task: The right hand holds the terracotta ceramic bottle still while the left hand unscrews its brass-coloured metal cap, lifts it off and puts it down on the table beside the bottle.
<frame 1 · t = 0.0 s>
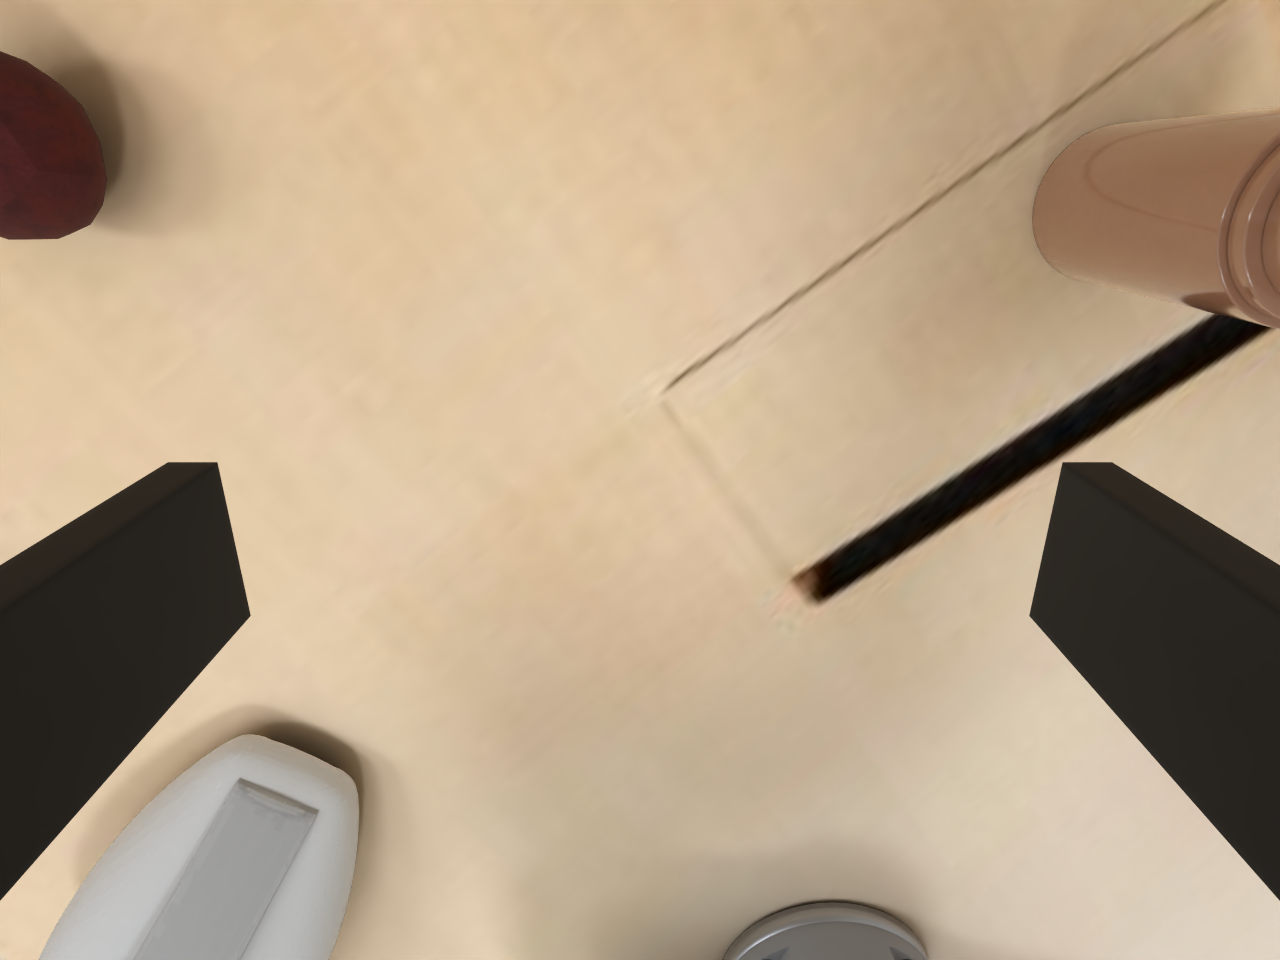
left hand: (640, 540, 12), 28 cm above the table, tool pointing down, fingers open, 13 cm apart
bottle: (1107, 205, 37), on the table
projector: (245, 852, 52), on the table
dark red round piece: (62, 152, 36), on the table
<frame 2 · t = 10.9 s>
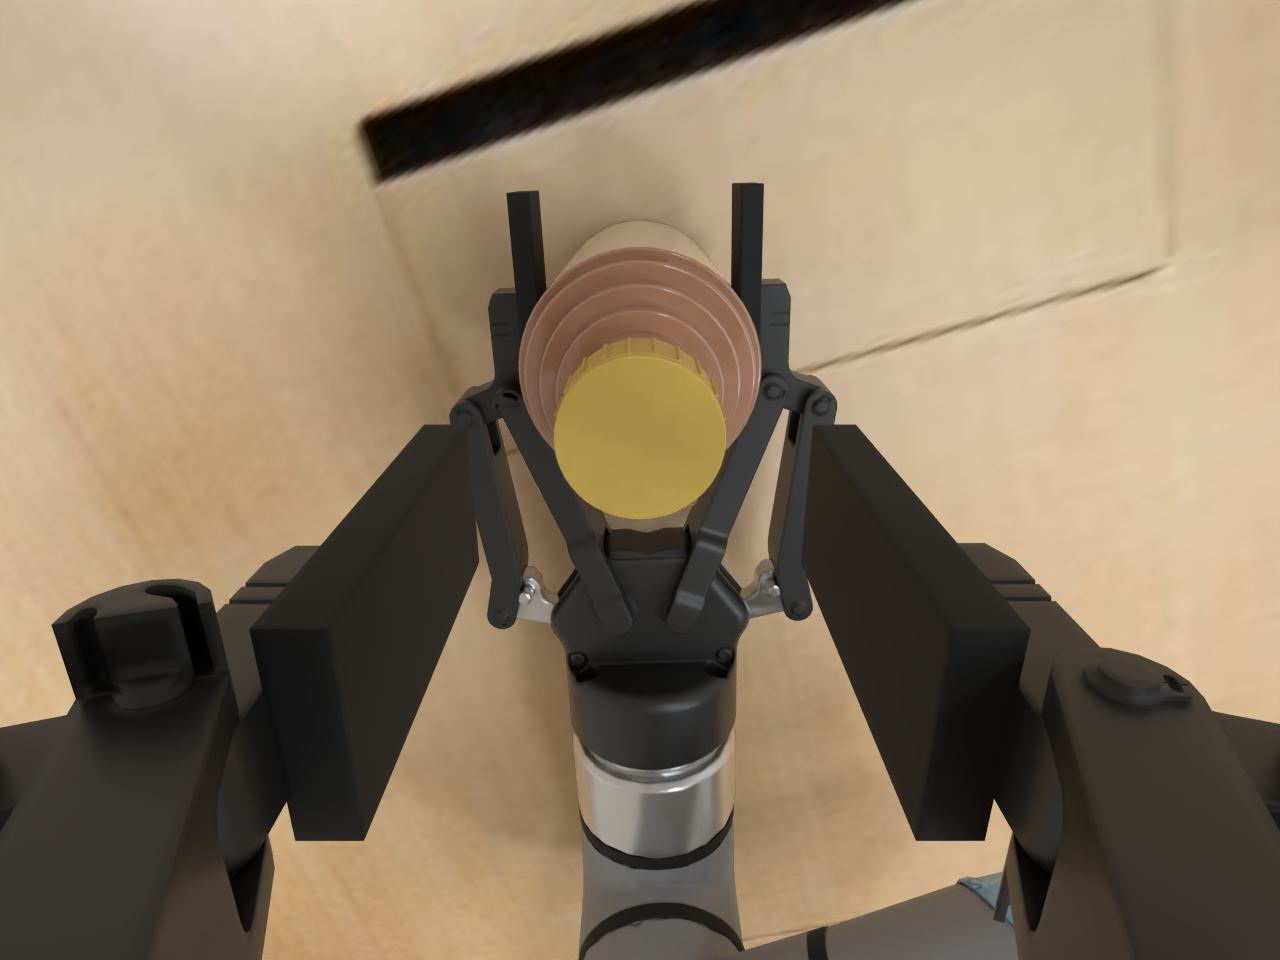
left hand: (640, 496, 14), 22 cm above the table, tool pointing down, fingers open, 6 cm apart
right hand: (635, 188, 27), fingers closed on bottle, 7 cm apart
bottle: (640, 304, 34), on the table, touching right hand
cap: (640, 437, 17), point 19 cm above the table, screwed on, not yet turned
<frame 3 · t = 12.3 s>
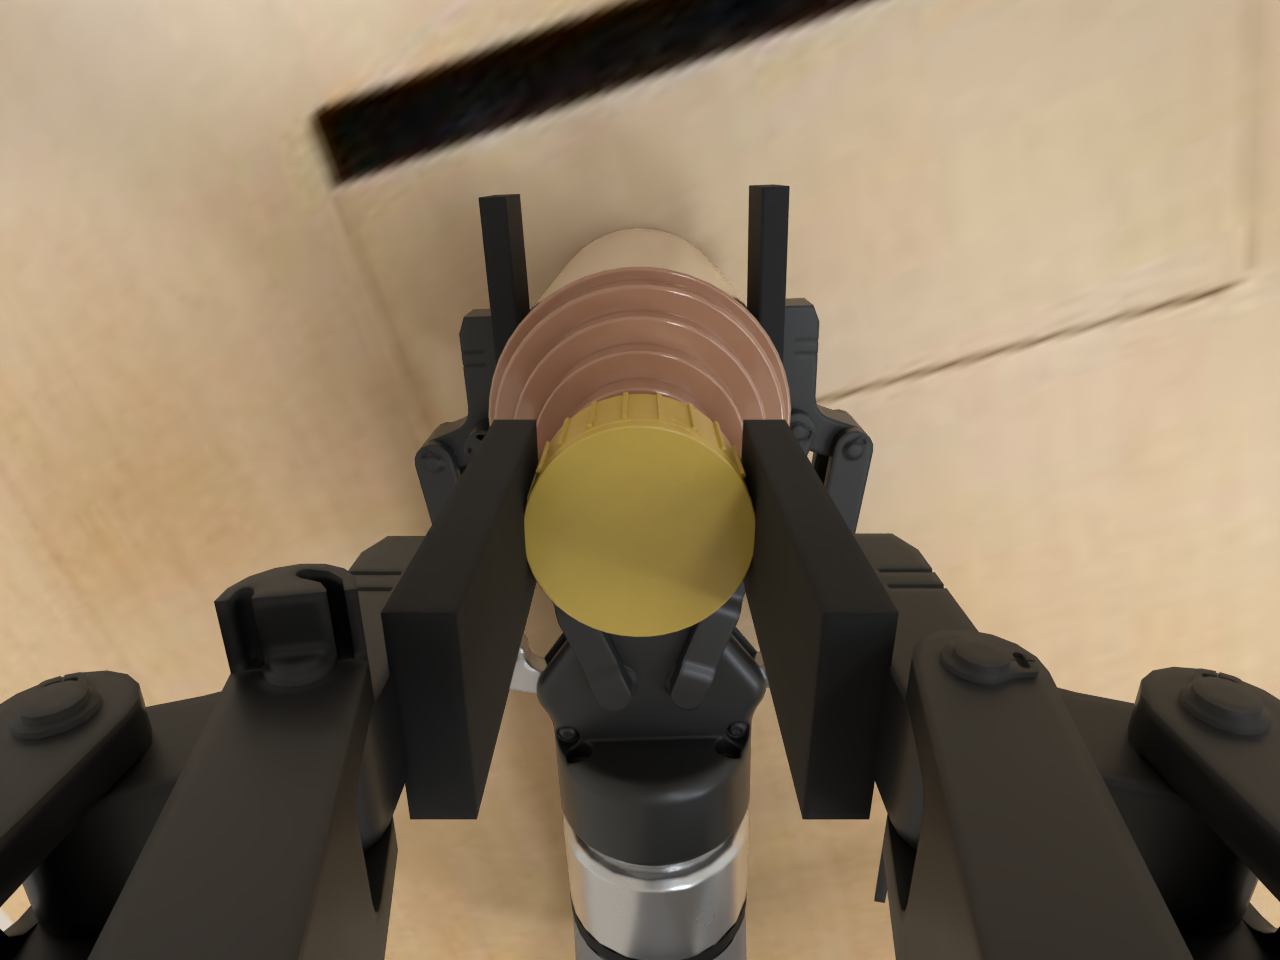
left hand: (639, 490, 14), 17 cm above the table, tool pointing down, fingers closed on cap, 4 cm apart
right hand: (633, 191, 23), fingers closed on bottle, 7 cm apart
bottle: (639, 323, 30), on the table, touching right hand
cap: (639, 529, 13), point 19 cm above the table, screwed on, not yet turned, touching left hand
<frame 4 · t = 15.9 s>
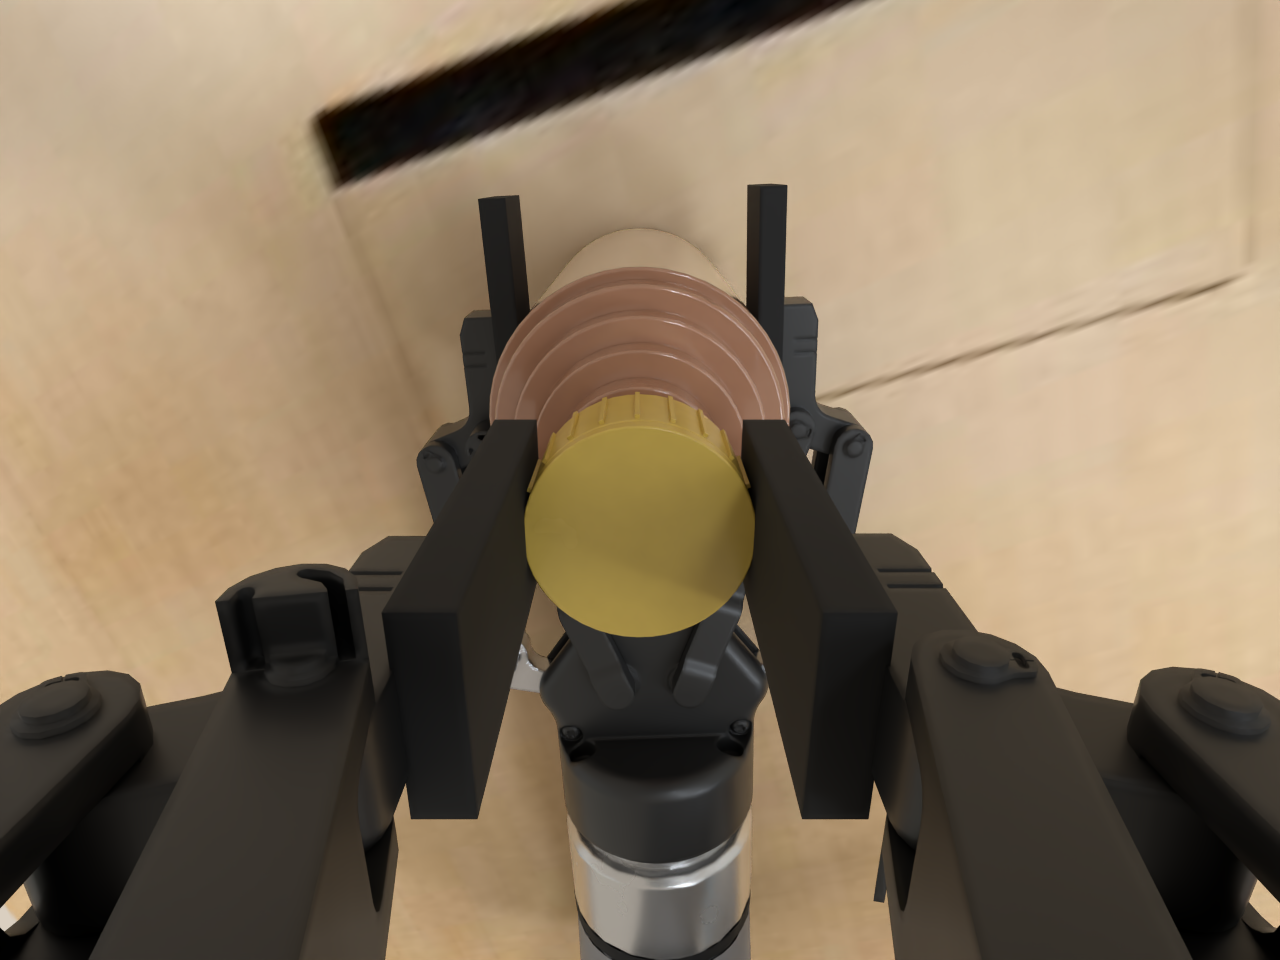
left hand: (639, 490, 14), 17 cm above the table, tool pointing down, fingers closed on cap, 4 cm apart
right hand: (632, 192, 23), fingers closed on bottle, 7 cm apart
bottle: (639, 323, 30), on the table, touching right hand
cap: (639, 530, 13), point 19 cm above the table, turned 114° so far, risen 0.1 cm, still on its thread, touching left hand
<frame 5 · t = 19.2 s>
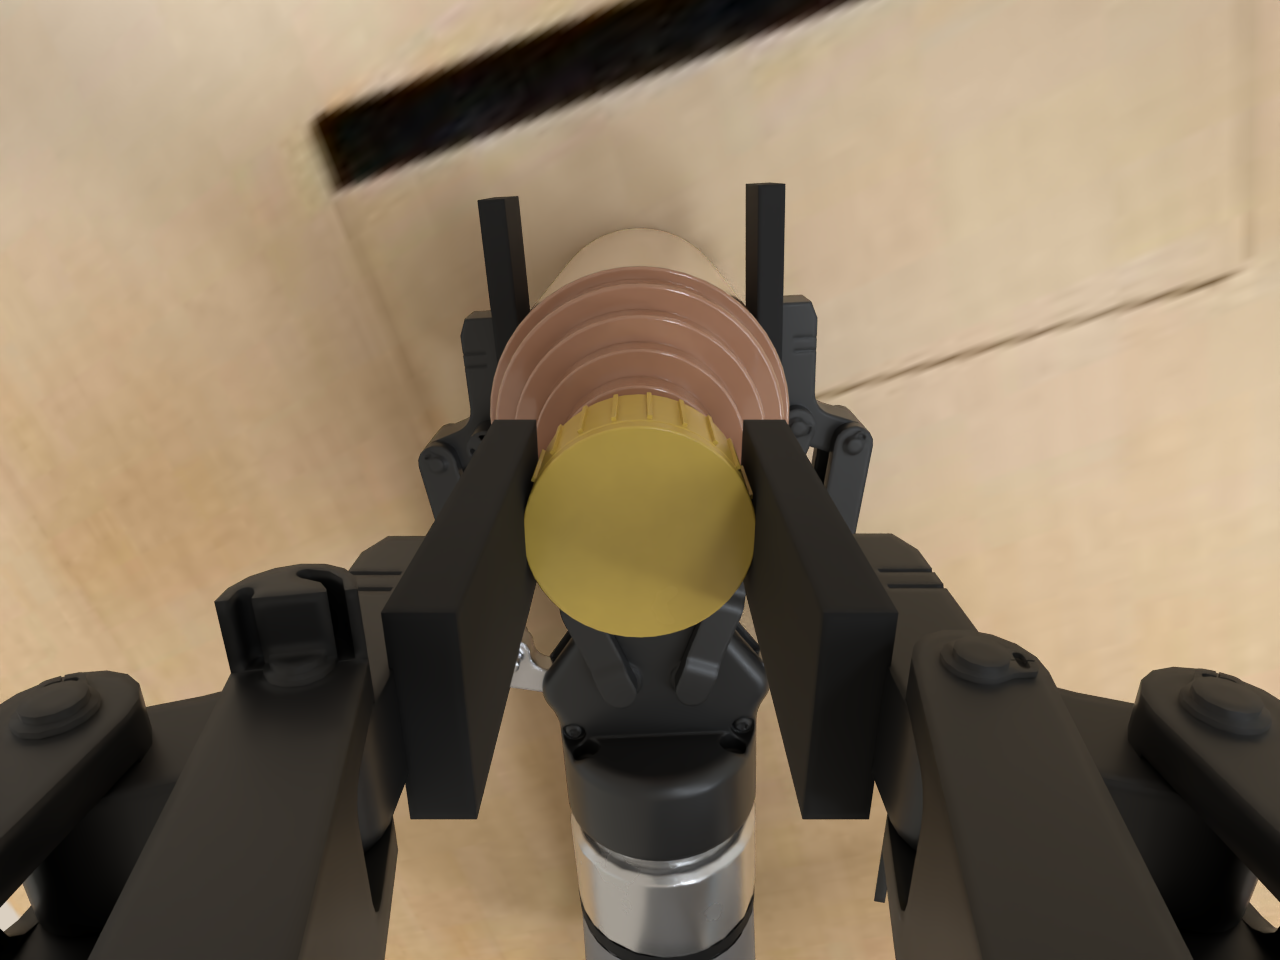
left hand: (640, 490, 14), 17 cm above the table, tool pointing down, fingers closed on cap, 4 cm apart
right hand: (631, 192, 23), fingers closed on bottle, 7 cm apart
bottle: (639, 323, 30), on the table, touching right hand
cap: (639, 530, 13), point 19 cm above the table, turned 227° so far, risen 0.2 cm, still on its thread, touching left hand
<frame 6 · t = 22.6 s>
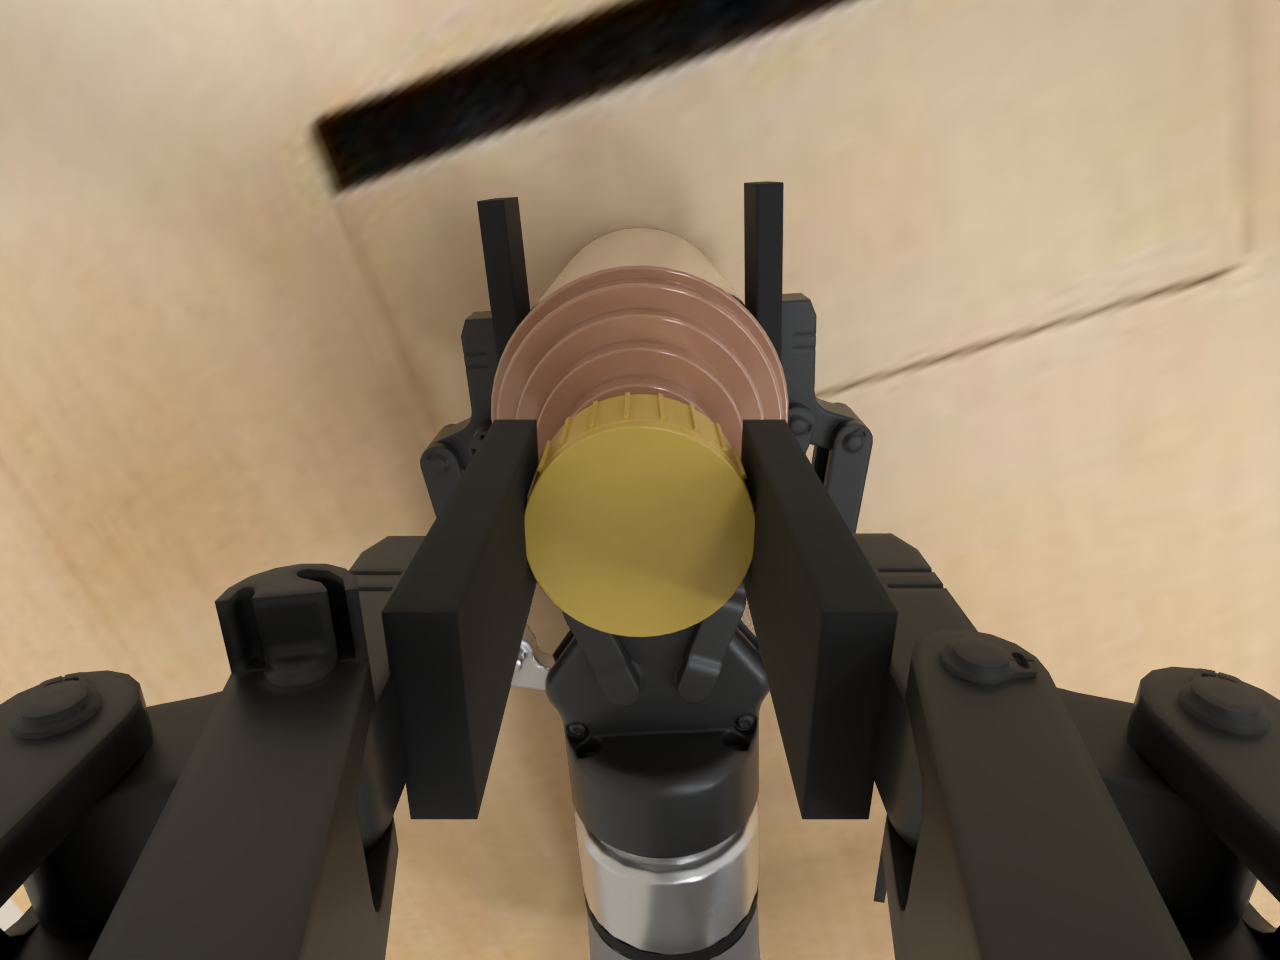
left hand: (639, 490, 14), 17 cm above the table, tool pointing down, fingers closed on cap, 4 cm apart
right hand: (630, 192, 23), fingers closed on bottle, 7 cm apart
bottle: (639, 322, 30), on the table, touching right hand
cap: (639, 529, 13), point 19 cm above the table, turned 341° so far, risen 0.3 cm, still on its thread, touching left hand
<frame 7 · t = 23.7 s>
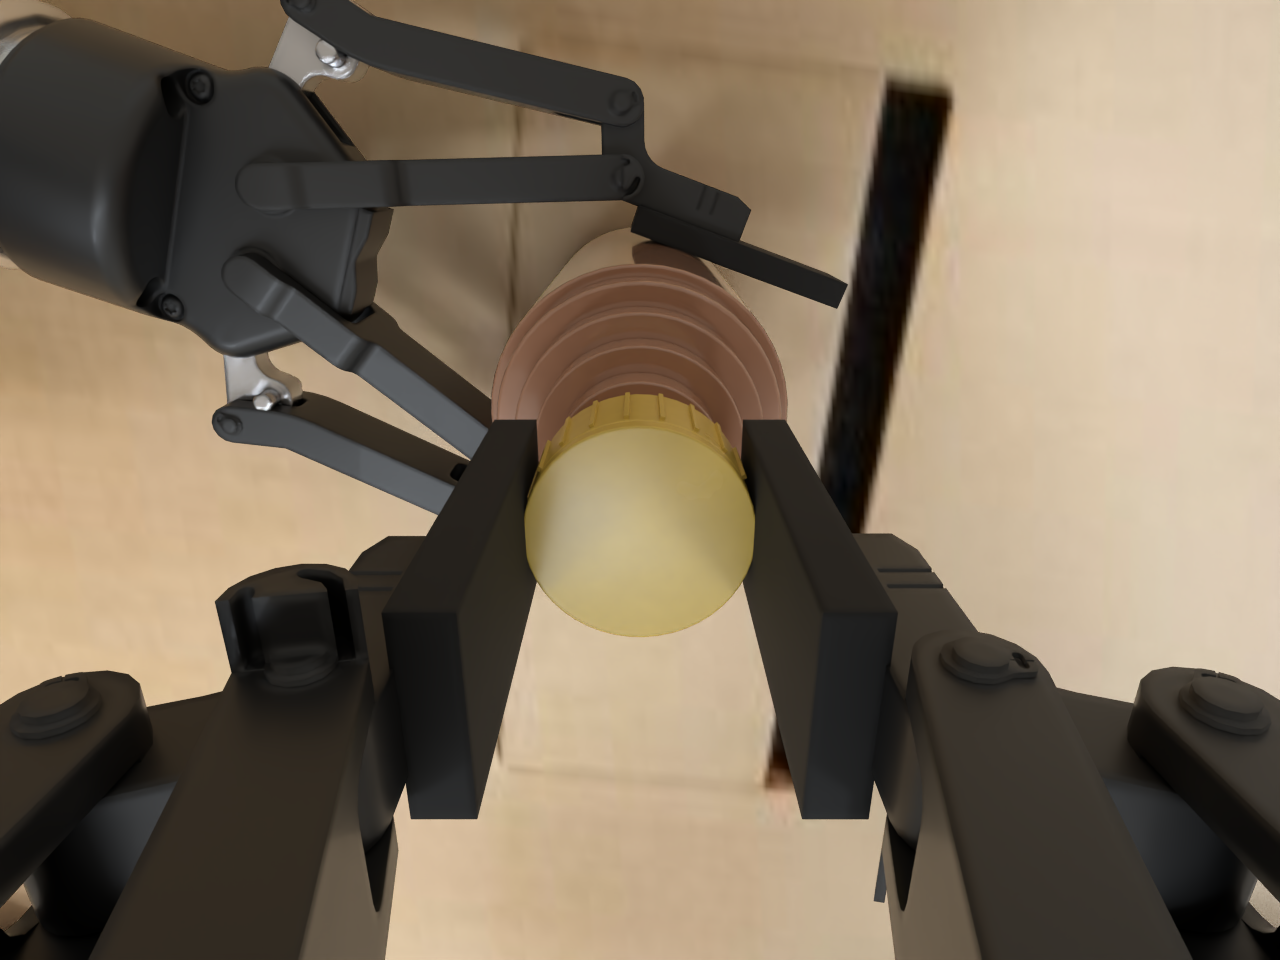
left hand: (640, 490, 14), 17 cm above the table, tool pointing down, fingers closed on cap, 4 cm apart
right hand: (780, 404, 25), fingers closed on bottle, 7 cm apart
bottle: (639, 321, 30), on the table, touching right hand
cap: (639, 529, 13), point 19 cm above the table, off its thread, touching left hand
when the left hand's fingers open (1 cm above the table, at t = 28.5 s): cap drops 1 cm, point 2 cm above the table.
when the right hand's fingers open (6 cm above the table, at t = 29.8 s): bottle stays where it is, on the table.
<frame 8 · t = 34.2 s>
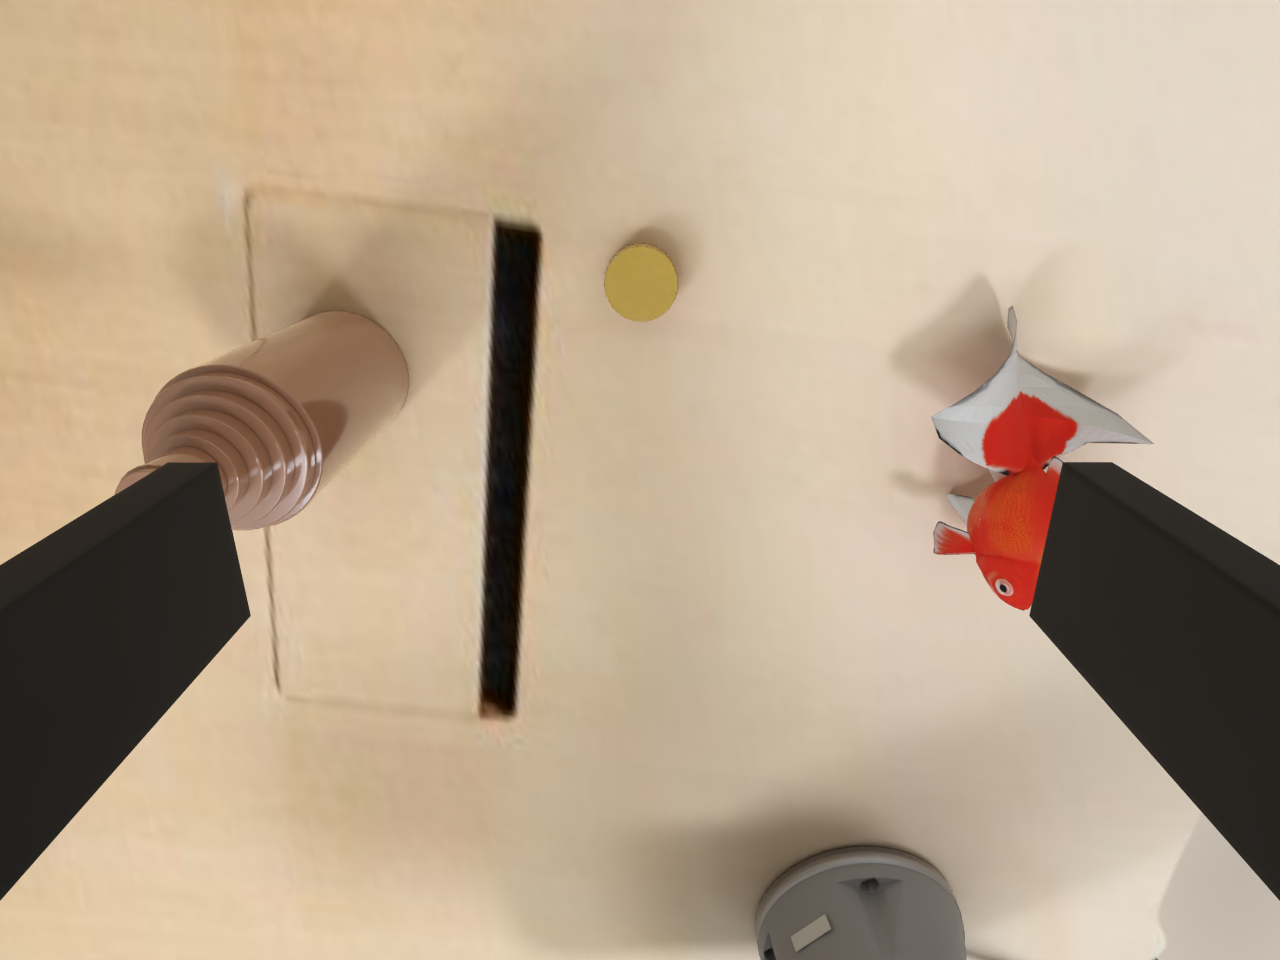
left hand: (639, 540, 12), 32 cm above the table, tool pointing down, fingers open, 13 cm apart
bottle: (345, 374, 43), on the table
fish: (981, 435, 45), on the table
cap: (641, 284, 40), point 2 cm above the table, off its thread
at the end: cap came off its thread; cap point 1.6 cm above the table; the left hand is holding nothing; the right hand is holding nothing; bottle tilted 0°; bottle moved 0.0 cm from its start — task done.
